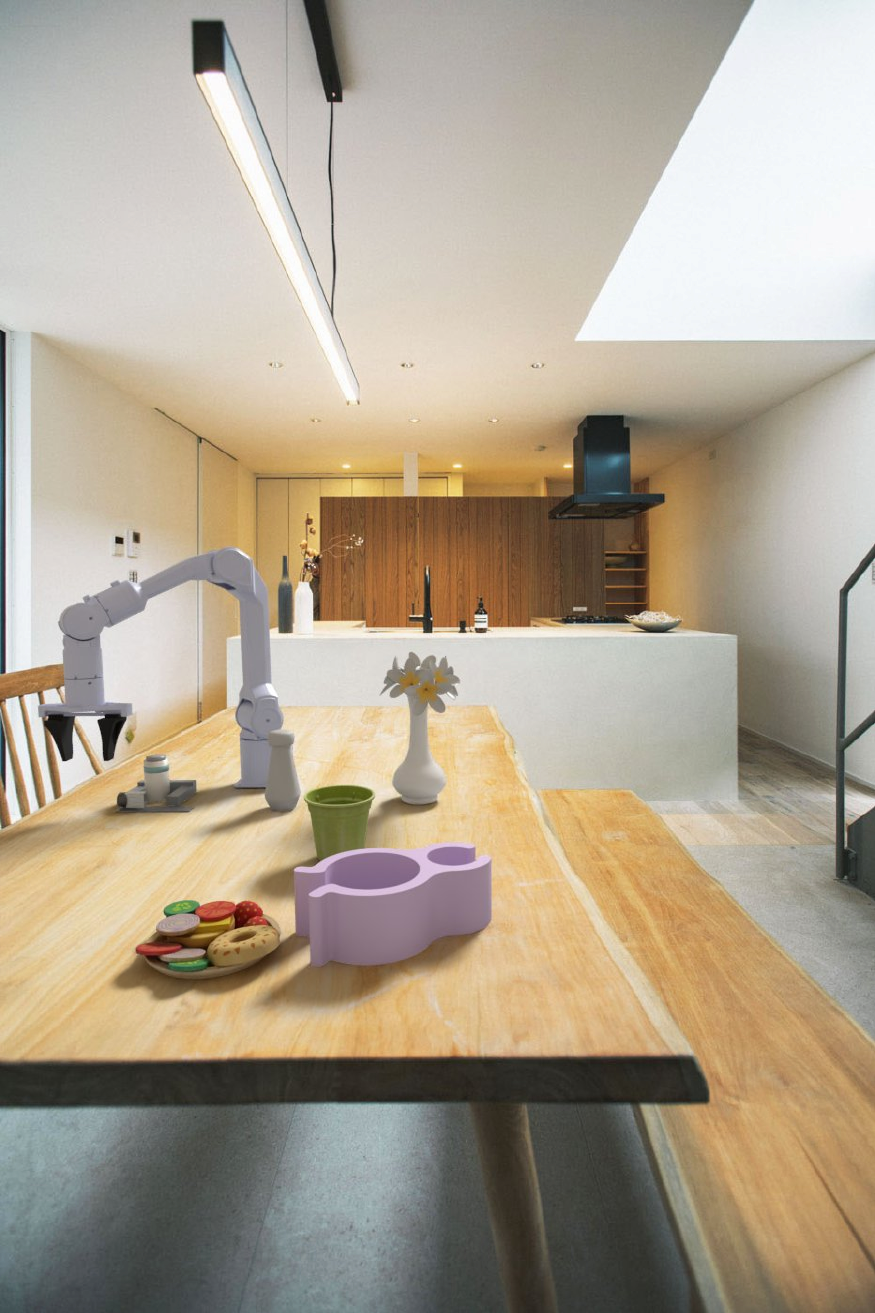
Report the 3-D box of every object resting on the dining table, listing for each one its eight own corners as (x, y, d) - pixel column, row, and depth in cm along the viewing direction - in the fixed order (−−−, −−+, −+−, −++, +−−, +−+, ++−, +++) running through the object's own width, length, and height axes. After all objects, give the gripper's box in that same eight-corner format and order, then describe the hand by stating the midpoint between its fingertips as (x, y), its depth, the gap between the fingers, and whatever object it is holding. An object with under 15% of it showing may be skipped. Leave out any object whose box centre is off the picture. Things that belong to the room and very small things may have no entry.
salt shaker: (305, 803, 117) (303, 727, 116) (295, 814, 111) (293, 734, 110) (271, 802, 117) (269, 727, 116) (259, 813, 112) (257, 733, 110)
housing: (213, 791, 124) (212, 779, 124) (188, 811, 113) (188, 798, 112) (141, 792, 124) (140, 780, 124) (109, 812, 113) (109, 799, 113)
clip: (458, 890, 82) (458, 833, 81) (511, 936, 70) (511, 870, 70) (289, 923, 74) (287, 860, 73) (318, 982, 62) (316, 907, 62)
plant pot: (387, 849, 95) (386, 787, 94) (357, 875, 86) (356, 807, 85) (326, 842, 98) (325, 782, 97) (291, 866, 89) (289, 800, 88)
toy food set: (280, 979, 63) (279, 945, 63) (125, 998, 60) (123, 962, 60) (281, 914, 76) (280, 886, 76) (154, 927, 73) (152, 898, 73)
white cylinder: (174, 795, 122) (172, 753, 121) (164, 802, 118) (162, 758, 117) (151, 795, 122) (149, 753, 121) (141, 802, 118) (139, 759, 117)
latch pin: (149, 804, 115) (148, 790, 115) (142, 808, 113) (142, 794, 112) (124, 804, 115) (123, 790, 115) (117, 809, 113) (116, 794, 113)
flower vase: (404, 821, 107) (402, 660, 105) (371, 791, 124) (368, 652, 122) (480, 811, 112) (480, 656, 109) (438, 783, 129) (437, 649, 127)
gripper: (24, 680, 108) (29, 765, 110) (116, 680, 108) (120, 765, 109) (50, 675, 115) (54, 755, 117) (136, 675, 115) (140, 755, 116)
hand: (88, 759), depth 113 cm, fingers open, 6 cm apart
